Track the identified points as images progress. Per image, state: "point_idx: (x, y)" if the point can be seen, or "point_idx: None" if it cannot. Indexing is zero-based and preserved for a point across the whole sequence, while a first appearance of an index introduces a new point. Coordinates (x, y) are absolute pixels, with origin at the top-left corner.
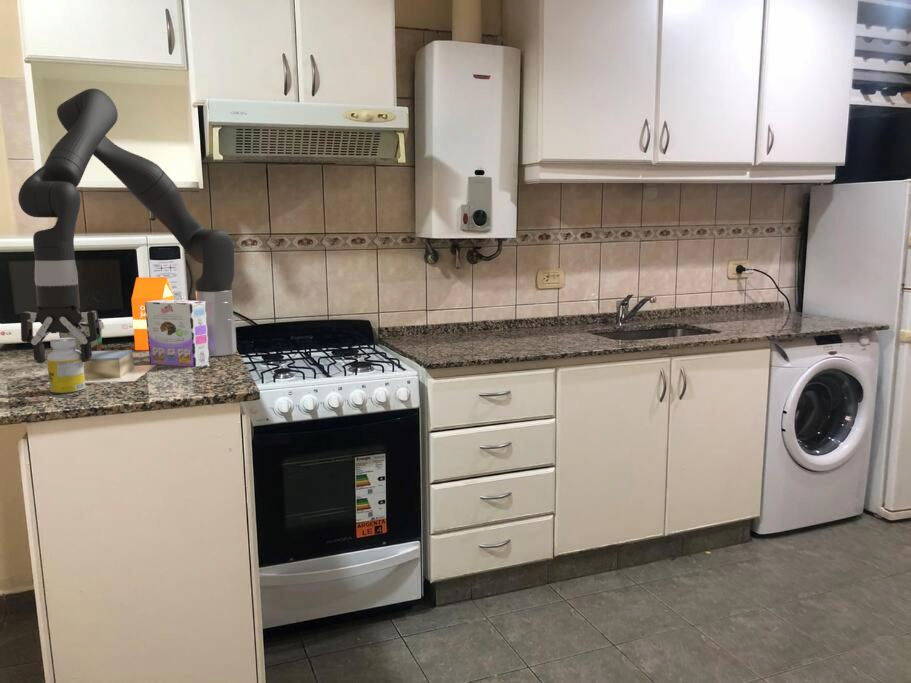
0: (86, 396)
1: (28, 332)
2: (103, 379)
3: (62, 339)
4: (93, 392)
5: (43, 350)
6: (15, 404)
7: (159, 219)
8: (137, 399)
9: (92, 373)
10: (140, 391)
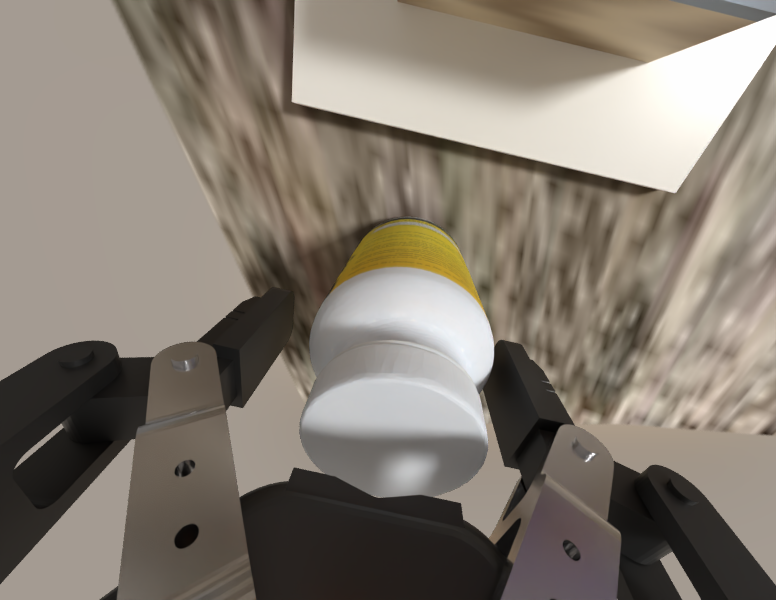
0: None
1: (74, 481)
2: (552, 84)
3: (382, 440)
4: (486, 258)
5: (263, 332)
6: None
7: None
8: (592, 391)
9: (512, 14)
10: (637, 302)
